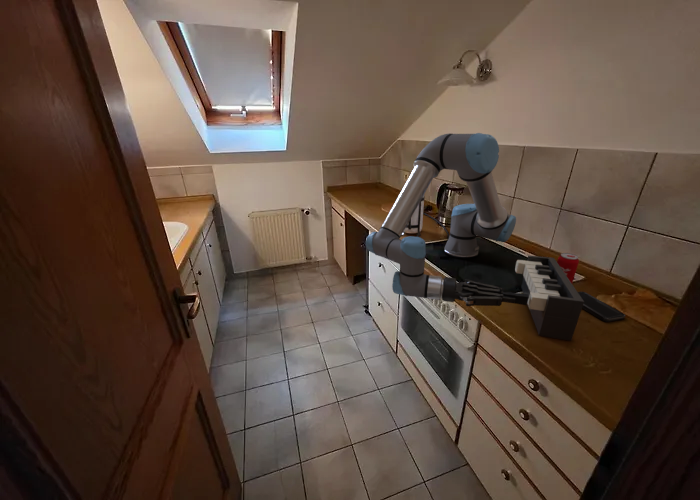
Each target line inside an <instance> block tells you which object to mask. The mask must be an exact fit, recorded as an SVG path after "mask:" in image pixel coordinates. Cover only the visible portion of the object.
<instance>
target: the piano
mask: <svg viewBox="0 0 700 500" xmlns="http://www.w3.org/2000/svg"><path fill="white" fill-rule="evenodd" d="M526 261H534V262H541V263H542V265H527V264H525V267H524V272H523V274H522V276H523V277H522V281H521V285H520V288H521V290H522V294H527V295H528V299H529V295H530V292H533V293H541V294H549V295H548V298H547V302H546V306H545V309H544V311H540V310H533V309H529V306H528V301H527V307H528V310H529V312H530V315H531V318H532V320H533V324H534V325H535V328H536V331H537V333H538V336H539V337H545V338H550V339H551V338H552V339H557V340H558V339H559V340H564V341H569V342H571V341H572V340H573V337H574V334H575V331H576V327H577V324H578V322H579V318H580V316H581V312H582V310H583V308H582V306H583V303H584V301H583V299H582V298H581V297H580V295H579V294H578V292H579V291H577V289H576V288H575V286H574V285H573V283H571V282H570V280H569V279H568V278H567V276H566V275H565V273H564V272H563V270H562V269H561V267H560V266H559V264H558V263H557V260H556V259H555V257H550V256H538V255H529V254H528V255H527V259H526ZM552 295H557V296H552Z"/></svg>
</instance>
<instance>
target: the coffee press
mask: <svg viewBox="0 0 700 500" xmlns="http://www.w3.org/2000/svg"><path fill="white" fill-rule="evenodd" d="M403 187H404V185H403V186H402V187H401V189H400V192H401V191H402V189H403ZM425 197H426V196H425V194H424V195H423V197H422V199H421V201H420V203H419V204H418V206H417V208H416V210H415V212H414V213H413V215H412V217H411V219H410V221H409V222H408V224H407V226H406V228H405V230H404V231H403V233H402V235H401V236H404V234H415V235H416V237H421V236H422V234H421V231H422V230H423V223H424V220H423V219H424V214H423V212H424V207H425V205H424V204H425Z"/></svg>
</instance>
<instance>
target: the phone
mask: <svg viewBox="0 0 700 500" xmlns="http://www.w3.org/2000/svg"><path fill="white" fill-rule="evenodd" d="M577 292H578V294H579V295H580V297H581V298H582V299H583V301H584V303H583V306H582V310H584V311H586V312H588V313H589V314H591V315H593V316H594V317H596V318H598V319H599V320H601V321H603V322H605V323H606V322H607V323H610V322H616V321H621V320H624V319H625V318H626V314H625V313H624V312H622V311H620V310H618V309H616V308H615V307H613V306H611V305H609V304H607V303H605V302H603V301H602V300H600V299H598V298H596V297H595V296H592V295H591V294H589V293H587V292H585V291H577Z"/></svg>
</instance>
